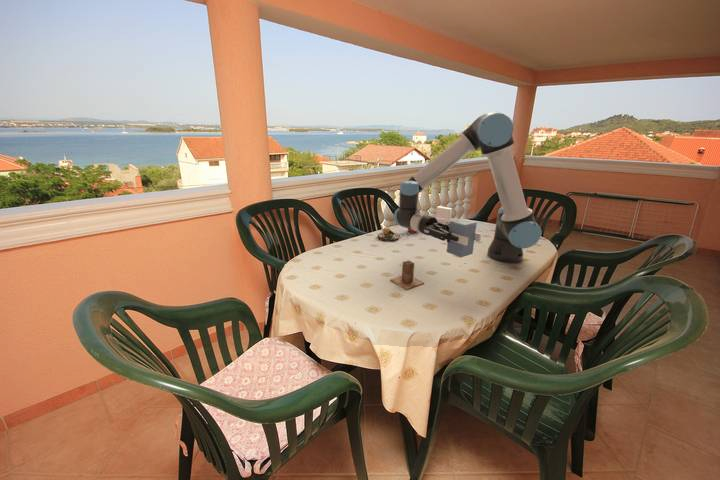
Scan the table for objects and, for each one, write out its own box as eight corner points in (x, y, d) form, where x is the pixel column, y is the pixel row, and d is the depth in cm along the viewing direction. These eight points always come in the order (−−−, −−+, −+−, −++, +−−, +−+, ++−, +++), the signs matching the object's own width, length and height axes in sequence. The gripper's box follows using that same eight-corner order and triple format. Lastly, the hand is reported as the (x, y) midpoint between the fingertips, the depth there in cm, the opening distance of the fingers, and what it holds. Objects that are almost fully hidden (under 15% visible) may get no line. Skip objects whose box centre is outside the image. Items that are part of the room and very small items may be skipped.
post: (407, 275, 126) (408, 256, 124) (424, 283, 119) (426, 264, 117) (390, 280, 121) (391, 261, 119) (406, 289, 114) (408, 269, 112)
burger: (397, 243, 162) (397, 229, 160) (374, 240, 166) (375, 226, 163) (401, 236, 173) (402, 223, 171) (380, 233, 177) (381, 220, 174)
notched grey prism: (457, 248, 120) (461, 218, 116) (472, 253, 115) (476, 222, 111) (446, 252, 116) (450, 220, 112) (461, 257, 111) (465, 225, 107)
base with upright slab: (431, 227, 190) (433, 207, 186) (438, 224, 196) (440, 205, 192) (445, 230, 184) (448, 210, 180) (452, 227, 191) (454, 207, 187)
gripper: (439, 229, 134) (488, 244, 116) (406, 237, 123) (454, 255, 105) (441, 211, 131) (491, 224, 113) (407, 218, 120) (456, 234, 103)
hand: (473, 239), depth 109 cm, fingers closed on notched grey prism, 6 cm apart
